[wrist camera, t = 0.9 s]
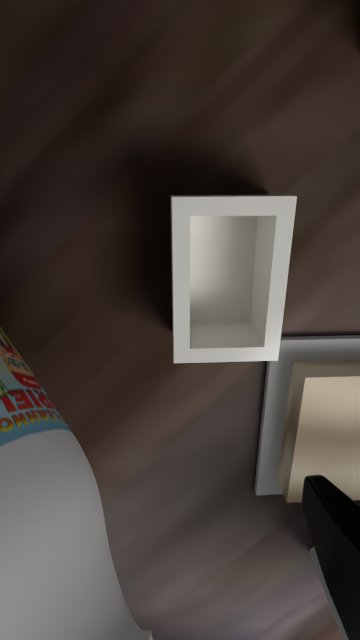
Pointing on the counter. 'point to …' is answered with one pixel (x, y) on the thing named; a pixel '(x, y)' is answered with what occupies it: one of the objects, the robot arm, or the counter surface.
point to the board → (322, 427)
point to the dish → (229, 275)
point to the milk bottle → (51, 524)
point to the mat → (279, 393)
